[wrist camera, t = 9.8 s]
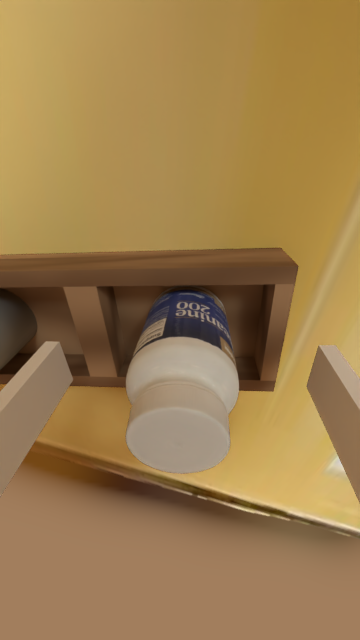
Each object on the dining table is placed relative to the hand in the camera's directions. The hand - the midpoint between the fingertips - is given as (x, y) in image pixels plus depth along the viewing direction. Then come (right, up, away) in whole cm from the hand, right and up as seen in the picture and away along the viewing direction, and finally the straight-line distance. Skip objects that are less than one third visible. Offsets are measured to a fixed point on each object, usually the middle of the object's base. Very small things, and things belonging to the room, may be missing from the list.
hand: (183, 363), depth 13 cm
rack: (-6, +3, +6) cm, 9 cm away
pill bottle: (0, +3, +5) cm, 6 cm away
